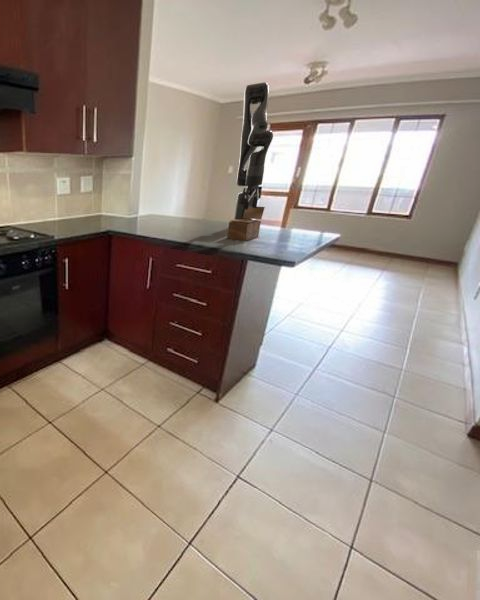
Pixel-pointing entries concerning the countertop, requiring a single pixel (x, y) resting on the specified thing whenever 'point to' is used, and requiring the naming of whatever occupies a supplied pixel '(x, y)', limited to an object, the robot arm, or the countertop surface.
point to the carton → (243, 229)
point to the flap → (253, 212)
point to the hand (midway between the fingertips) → (249, 208)
